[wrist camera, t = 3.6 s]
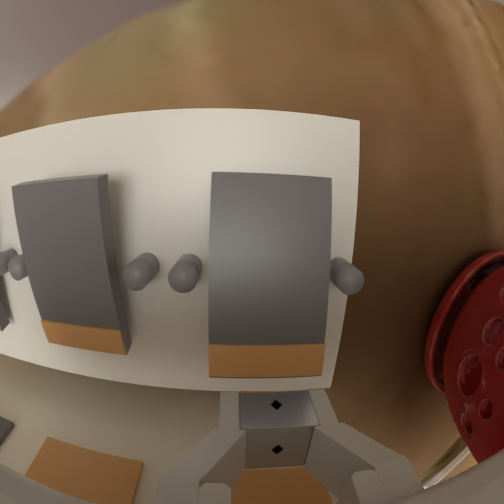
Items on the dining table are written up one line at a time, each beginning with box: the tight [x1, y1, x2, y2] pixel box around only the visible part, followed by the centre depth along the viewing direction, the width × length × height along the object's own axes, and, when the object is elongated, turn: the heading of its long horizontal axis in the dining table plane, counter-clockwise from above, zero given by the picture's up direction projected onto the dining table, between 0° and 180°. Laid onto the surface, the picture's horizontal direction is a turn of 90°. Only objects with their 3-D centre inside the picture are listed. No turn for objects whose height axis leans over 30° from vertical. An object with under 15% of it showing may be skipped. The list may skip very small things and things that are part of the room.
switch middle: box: [11, 174, 132, 355], centre depth 10 cm, size 4×7×1 cm, turn 178°
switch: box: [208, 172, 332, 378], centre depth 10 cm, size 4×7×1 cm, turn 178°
